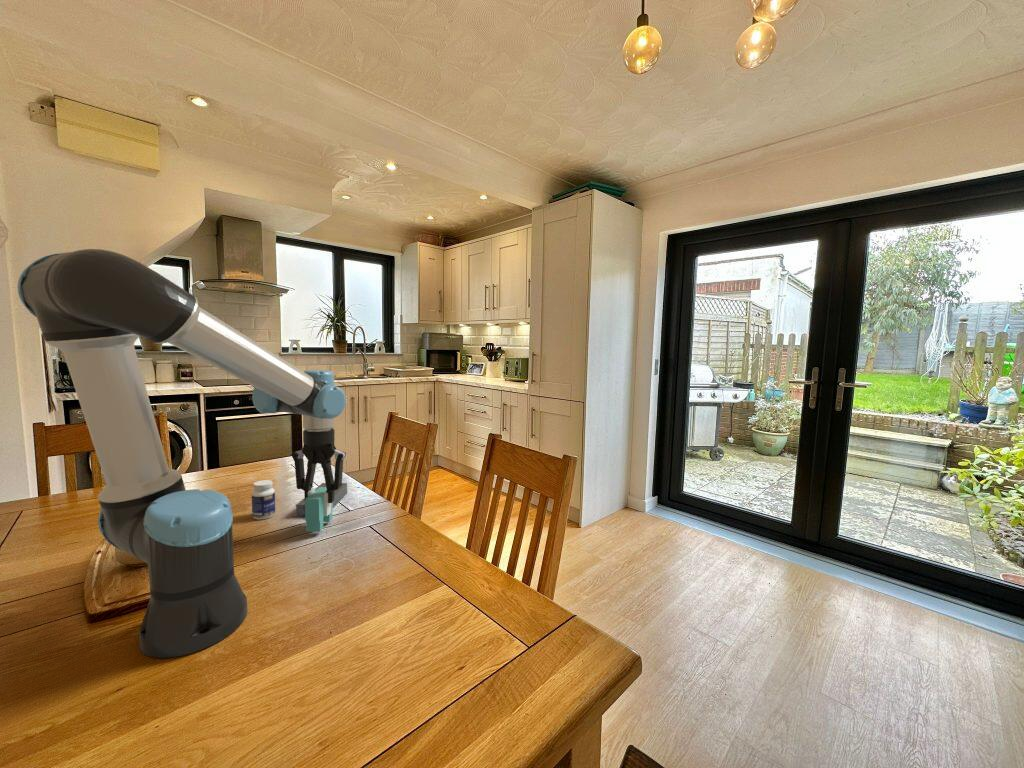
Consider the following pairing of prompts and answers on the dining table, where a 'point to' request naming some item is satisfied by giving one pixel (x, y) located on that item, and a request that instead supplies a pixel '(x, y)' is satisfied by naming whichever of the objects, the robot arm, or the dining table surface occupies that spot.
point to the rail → (337, 497)
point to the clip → (316, 511)
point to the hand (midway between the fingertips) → (319, 513)
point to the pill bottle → (263, 500)
